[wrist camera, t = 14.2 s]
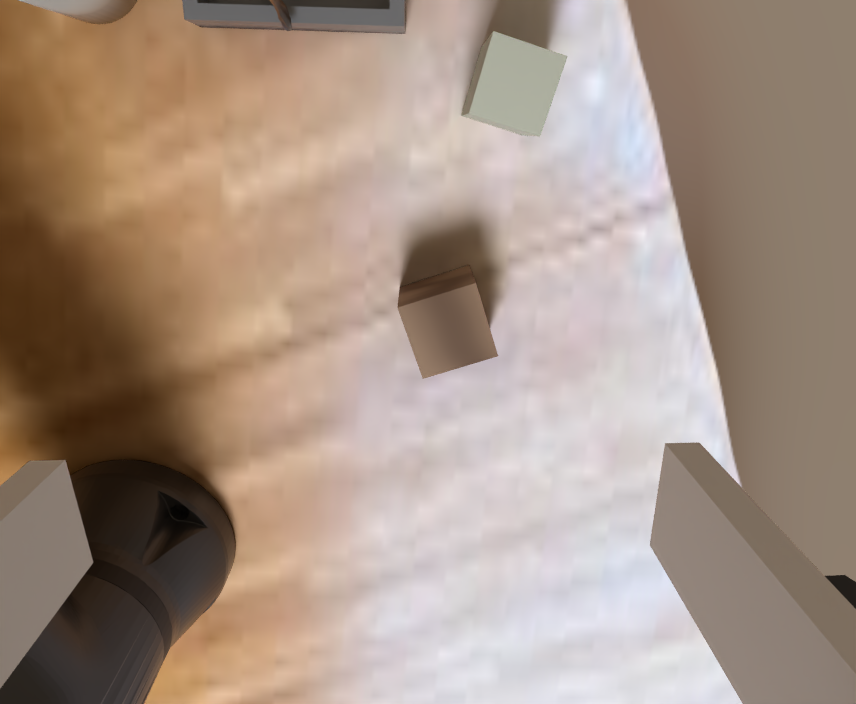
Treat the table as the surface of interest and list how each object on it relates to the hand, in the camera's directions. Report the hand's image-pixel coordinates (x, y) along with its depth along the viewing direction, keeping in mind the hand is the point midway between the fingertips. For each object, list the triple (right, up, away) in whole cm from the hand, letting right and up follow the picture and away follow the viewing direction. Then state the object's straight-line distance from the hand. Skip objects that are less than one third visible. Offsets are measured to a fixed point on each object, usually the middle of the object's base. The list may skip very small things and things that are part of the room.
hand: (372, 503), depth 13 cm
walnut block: (+2, +6, +28) cm, 28 cm away
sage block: (+6, +19, +23) cm, 30 cm away
